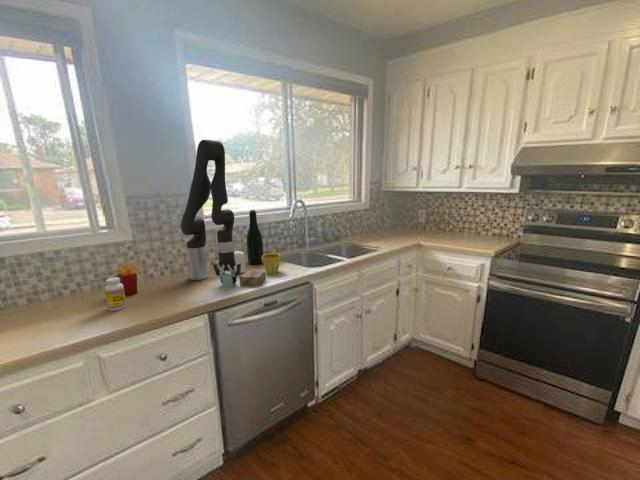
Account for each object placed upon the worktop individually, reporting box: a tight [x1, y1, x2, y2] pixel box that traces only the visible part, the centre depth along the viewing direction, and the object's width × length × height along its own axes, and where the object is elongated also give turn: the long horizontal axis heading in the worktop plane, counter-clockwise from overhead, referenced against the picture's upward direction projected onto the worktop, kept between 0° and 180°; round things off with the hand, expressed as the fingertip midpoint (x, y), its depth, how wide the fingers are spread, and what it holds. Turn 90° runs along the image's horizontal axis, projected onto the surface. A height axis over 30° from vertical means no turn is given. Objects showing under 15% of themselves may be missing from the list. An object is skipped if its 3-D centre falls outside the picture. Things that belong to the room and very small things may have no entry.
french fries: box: [116, 262, 141, 297], centre depth 153 cm, size 9×8×15 cm
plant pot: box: [261, 253, 281, 275], centre depth 180 cm, size 10×10×10 cm
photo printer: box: [226, 250, 246, 274], centre depth 180 cm, size 10×4×12 cm, turn 123°
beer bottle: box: [245, 209, 265, 265], centre depth 199 cm, size 10×10×33 cm
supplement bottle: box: [104, 276, 127, 312], centre depth 135 cm, size 7×7×13 cm
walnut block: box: [238, 270, 267, 287], centre depth 163 cm, size 10×10×5 cm
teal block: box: [221, 271, 237, 288], centre depth 161 cm, size 5×5×6 cm
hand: (229, 283), depth 161 cm, fingers closed on teal block, 5 cm apart
